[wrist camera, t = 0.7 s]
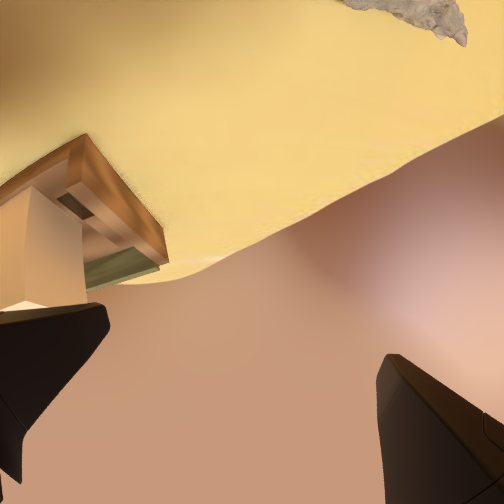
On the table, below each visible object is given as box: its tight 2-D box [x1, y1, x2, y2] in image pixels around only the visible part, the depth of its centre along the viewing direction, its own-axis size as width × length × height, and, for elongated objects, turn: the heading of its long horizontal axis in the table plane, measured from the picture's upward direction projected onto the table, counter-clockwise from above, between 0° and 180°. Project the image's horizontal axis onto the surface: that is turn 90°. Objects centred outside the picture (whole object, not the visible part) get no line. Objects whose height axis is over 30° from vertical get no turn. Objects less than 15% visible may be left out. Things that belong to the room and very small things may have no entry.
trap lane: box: [0, 134, 169, 293], centre depth 21 cm, size 16×15×4 cm
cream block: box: [0, 185, 87, 312], centre depth 16 cm, size 7×5×8 cm
